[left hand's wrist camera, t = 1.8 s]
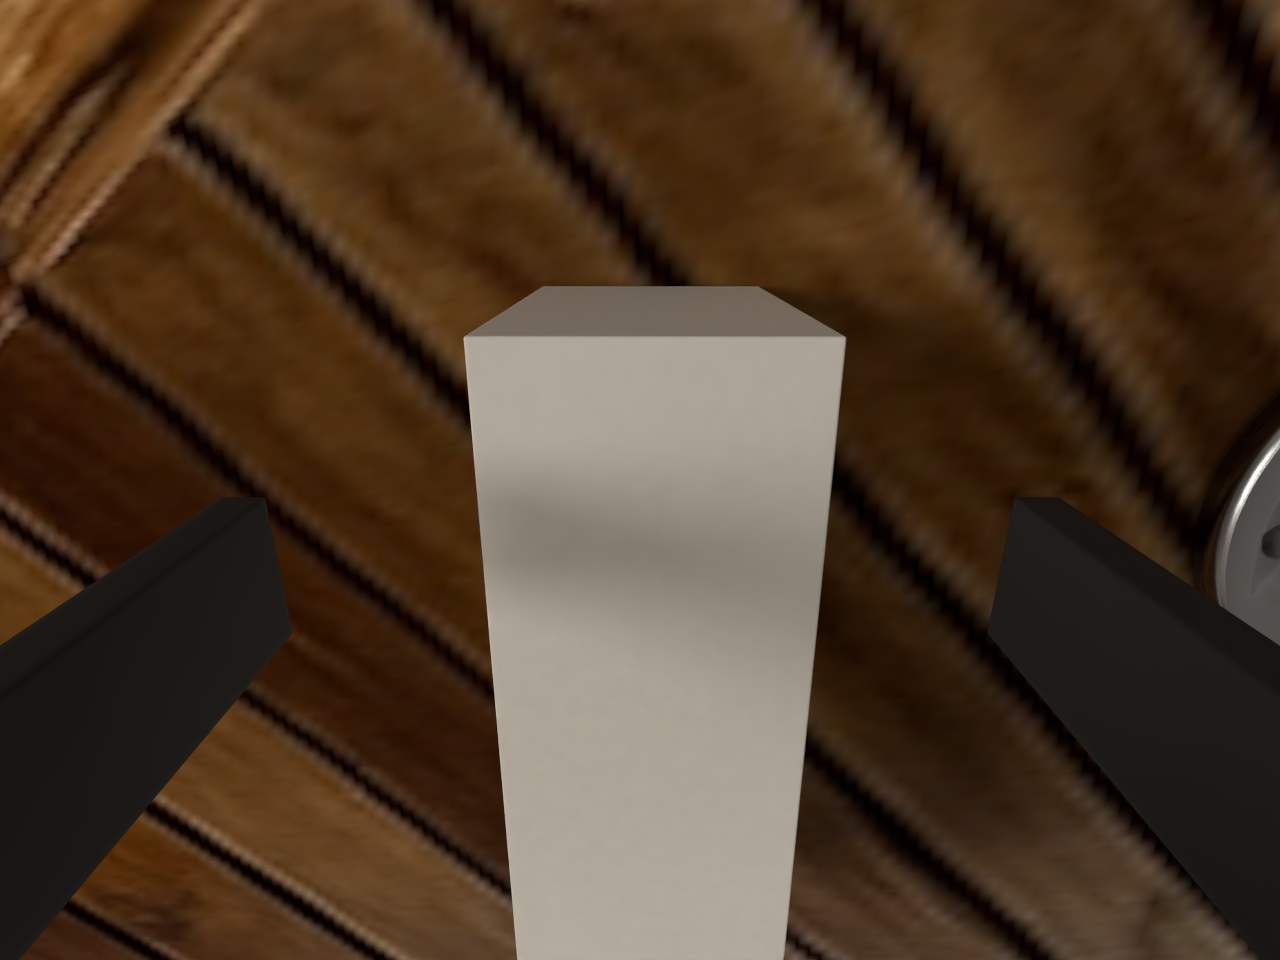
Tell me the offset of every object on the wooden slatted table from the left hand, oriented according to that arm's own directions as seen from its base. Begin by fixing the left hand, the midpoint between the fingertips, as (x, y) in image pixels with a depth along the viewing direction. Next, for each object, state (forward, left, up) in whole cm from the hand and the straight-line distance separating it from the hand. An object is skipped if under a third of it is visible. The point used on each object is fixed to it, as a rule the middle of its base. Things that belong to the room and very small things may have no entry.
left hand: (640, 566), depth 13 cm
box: (-6, +6, -14) cm, 16 cm away
